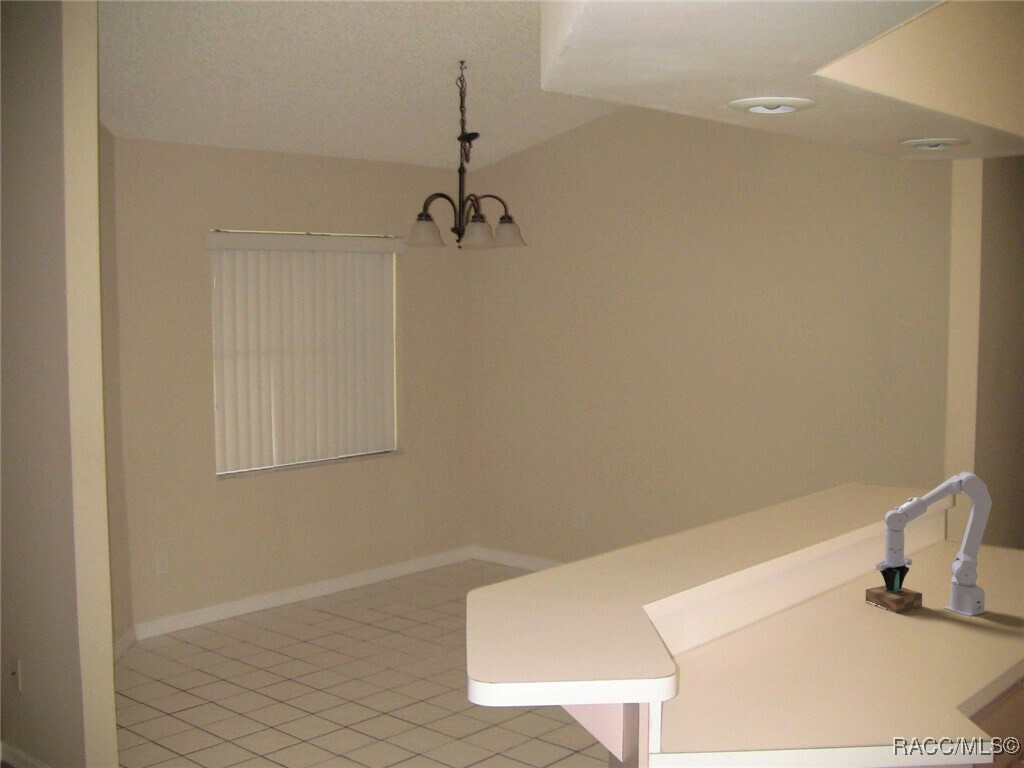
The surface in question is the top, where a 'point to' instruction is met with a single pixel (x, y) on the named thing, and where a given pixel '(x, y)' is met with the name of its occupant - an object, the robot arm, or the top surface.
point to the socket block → (894, 598)
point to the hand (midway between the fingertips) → (893, 589)
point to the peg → (895, 584)
